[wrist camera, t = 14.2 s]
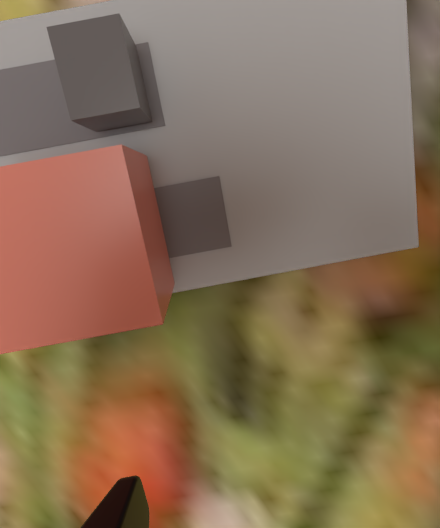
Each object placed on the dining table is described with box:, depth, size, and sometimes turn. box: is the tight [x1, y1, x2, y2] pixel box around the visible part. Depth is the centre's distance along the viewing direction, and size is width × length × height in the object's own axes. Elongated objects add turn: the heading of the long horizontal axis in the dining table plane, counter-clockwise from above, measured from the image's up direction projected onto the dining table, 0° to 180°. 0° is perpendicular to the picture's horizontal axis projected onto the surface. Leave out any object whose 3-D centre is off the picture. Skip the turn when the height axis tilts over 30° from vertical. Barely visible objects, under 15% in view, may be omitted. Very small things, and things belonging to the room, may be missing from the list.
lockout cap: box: [0, 144, 175, 354], centre depth 14 cm, size 6×6×5 cm
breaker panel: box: [0, 0, 419, 293], centre depth 17 cm, size 22×13×2 cm, turn 100°
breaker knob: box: [46, 13, 152, 132], centre depth 14 cm, size 2×3×3 cm
